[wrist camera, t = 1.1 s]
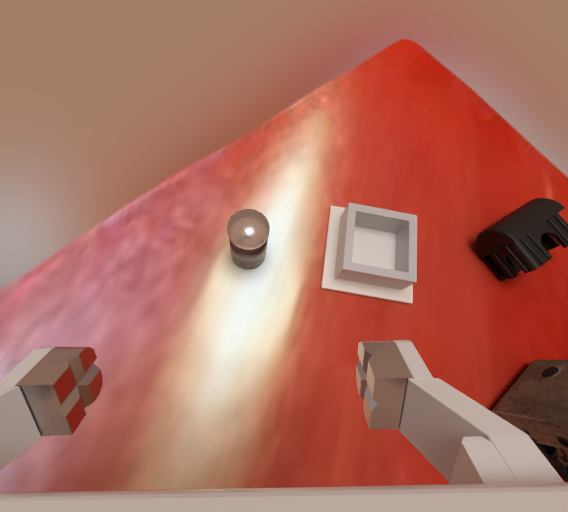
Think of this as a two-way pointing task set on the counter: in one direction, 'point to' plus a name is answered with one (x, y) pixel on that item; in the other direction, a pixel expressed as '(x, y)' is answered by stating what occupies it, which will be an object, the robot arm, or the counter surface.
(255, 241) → the brown cylinder
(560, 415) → the vintage camera
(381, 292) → the open square tray
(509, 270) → the end cap
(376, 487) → the robot arm
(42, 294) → the counter surface
